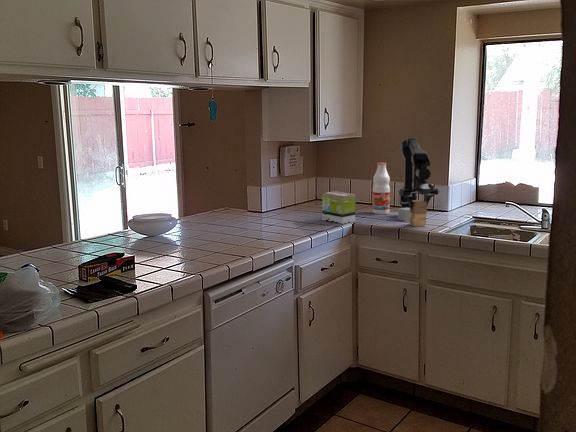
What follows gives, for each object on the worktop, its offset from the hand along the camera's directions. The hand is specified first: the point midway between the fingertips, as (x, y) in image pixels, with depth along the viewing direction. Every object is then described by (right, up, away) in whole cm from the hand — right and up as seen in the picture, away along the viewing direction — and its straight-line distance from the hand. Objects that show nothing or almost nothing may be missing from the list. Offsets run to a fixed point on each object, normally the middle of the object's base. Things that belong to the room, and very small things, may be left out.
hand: (418, 208), depth 288 cm
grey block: (-3, -6, +15) cm, 16 cm away
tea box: (-38, -6, +13) cm, 41 cm away
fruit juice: (-13, -2, +36) cm, 38 cm away
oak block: (0, -8, +1) cm, 8 cm away
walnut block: (0, -2, 0) cm, 2 cm away
